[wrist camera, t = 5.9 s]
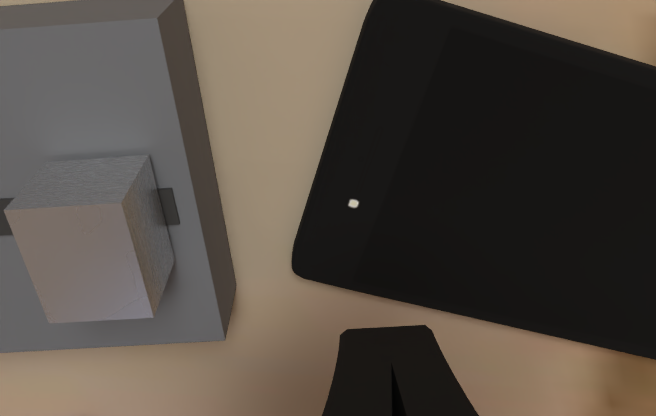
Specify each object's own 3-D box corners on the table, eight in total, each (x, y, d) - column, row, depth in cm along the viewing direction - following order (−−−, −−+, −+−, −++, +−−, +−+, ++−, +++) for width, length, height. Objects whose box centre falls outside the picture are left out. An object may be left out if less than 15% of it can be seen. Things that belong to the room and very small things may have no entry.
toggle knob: (82, 265, 16) (49, 323, 14) (46, 161, 14) (3, 210, 12) (174, 260, 16) (153, 317, 14) (148, 154, 14) (120, 202, 12)
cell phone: (770, 371, 22) (787, 391, 21) (287, 258, 19) (285, 276, 19) (964, 159, 18) (995, 174, 17) (375, -23, 15) (378, -15, 14)
